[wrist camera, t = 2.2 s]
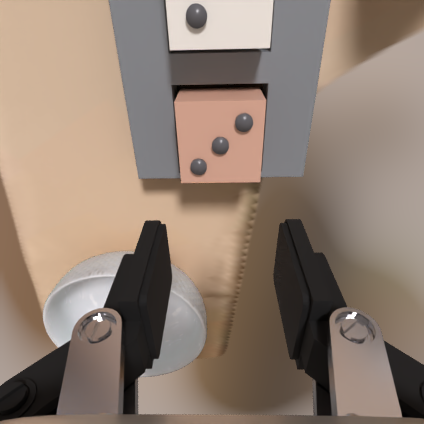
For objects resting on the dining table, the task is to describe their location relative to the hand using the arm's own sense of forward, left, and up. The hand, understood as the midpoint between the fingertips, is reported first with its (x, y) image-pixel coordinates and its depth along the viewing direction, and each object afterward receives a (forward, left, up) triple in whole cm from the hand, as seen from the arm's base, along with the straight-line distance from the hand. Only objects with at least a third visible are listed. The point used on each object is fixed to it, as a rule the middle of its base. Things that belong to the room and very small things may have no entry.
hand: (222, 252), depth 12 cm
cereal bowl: (+10, +20, -18) cm, 28 cm away
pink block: (0, 0, -16) cm, 16 cm away
